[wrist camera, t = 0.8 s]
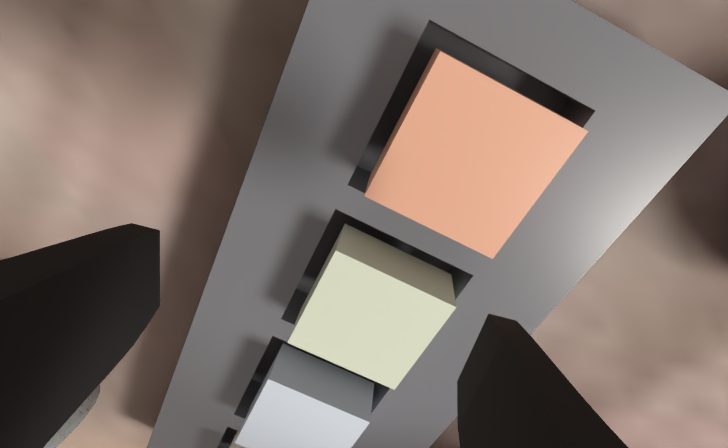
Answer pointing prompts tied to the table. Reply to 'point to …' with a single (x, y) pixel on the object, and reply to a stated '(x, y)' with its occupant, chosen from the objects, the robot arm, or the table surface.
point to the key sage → (373, 308)
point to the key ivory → (233, 445)
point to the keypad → (349, 206)
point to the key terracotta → (470, 155)
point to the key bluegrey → (307, 405)
